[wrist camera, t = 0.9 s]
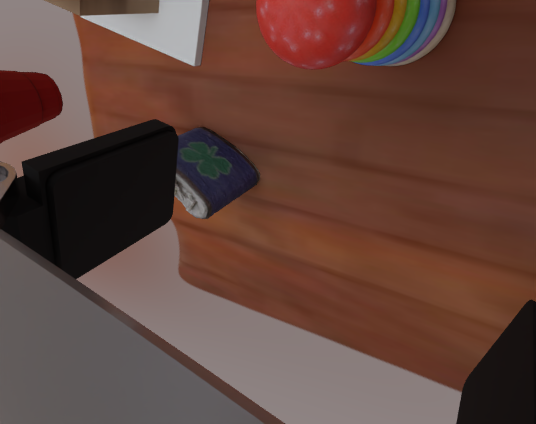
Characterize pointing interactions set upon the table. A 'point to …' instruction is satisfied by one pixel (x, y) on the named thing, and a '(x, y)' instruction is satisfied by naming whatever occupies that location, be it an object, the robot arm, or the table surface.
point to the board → (164, 28)
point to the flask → (210, 172)
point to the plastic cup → (26, 102)
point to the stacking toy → (353, 30)
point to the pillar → (108, 6)
